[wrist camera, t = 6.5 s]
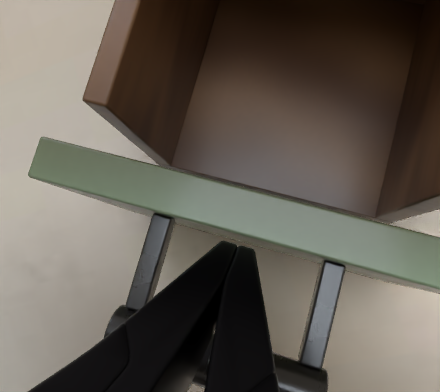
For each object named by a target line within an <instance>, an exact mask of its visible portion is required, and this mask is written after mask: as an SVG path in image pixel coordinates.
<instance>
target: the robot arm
mask: <svg viewBox="0 0 440 392" xmlns="http://www.w3.org/2000/svg"><path fill="white" fill-rule="evenodd" d="M214 331H215V334H214V339H213V345H212V351H211V356H210V362H209V368H208V373H207V379H206V385H205V390H204V392H280V390H279V384H278V379H277V374H276V373H275V372H276V368H275V363H274V357H273V351H272V346H271V340H270V334H269V329H268V323H267V317H266V311H265V306H264V300H263V294H262V289H261V283H260V277H259V272H258V266H257V260H256V254H255V251H254V249H252V248H248V247H245V246H238V247H237V245H236V244H234V243H230V242H227V241H221V242H219V243H218V244H217V245H216V246H215V247H213V248H212V249H211V250H210V251H209V252H207V253H206V254H205V255H204V256H203V257H201V258H200V259H199V260H198V261H197V262H195V263H194V264H193V265H192V266H191V267H189V268H188V269H187V270H186V271H185V272H183V273H182V274H181V275H180V276H179V277H177V278H176V279H175V280H174V281H173V282H171V283H170V284H169V285H168V286H167V287H165V288H164V289H163V290H162V291H161V292H159V293H158V294H157V295H156V296H155V297H153V298H152V299H151V300H150V301H149V302H147V303H146V304H145V305H144V306H143V307H142V308H140V309H139V310H138V311H137V312H136V313H134V314H133V315H132V316H131V317H130V318H128V319H127V320H126V321H125V324H124V323H122V324H121V325H120V326H119V327H117V328H116V329H115V330H114V331H113V332H111V333H110V334H109V335H108V336H106V337H105V338H104V339H103V340H101V341H100V342H99V343H98V344H96V345H95V346H94V347H92V348H91V349H90V350H88V351H87V352H86V353H84V354H83V355H81V356H80V357H78V358H77V359H76V360H74V361H73V362H71V363H70V364H68V365H67V366H65V367H64V368H62V369H61V370H59V371H58V372H56V373H55V374H53V375H52V376H50V377H49V378H47V379H46V380H44V381H43V382H41V383H40V384H38V385H37V386H35V387H34V388H33V389H31V390H30V391H28V392H188V389H189V387H190V385H191V383H192V380H193V378H194V376H195V374H196V372H197V369H198V367H199V365H200V363H201V360H202V358H203V356H204V354H205V352H206V349H207V347H208V345H209V343H210V340H211V338H212V336H213V333H214Z"/></svg>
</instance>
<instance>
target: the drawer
mask: <svg viewBox="0 0 440 392" xmlns="http://www.w3.org/2000/svg"><path fill="white" fill-rule="evenodd" d="M83 101H84V102H85V103H86V104H88V105H89V106H90V107H91V108H92V109H93V110H95V111H96V112H97V113H98V114H99V115H101V116H102V117H103V118H104V119H105V120H107V121H108V122H109V123H110V124H111V125H113V126H114V127H115V128H116V129H117V130H118V131H120V132H121V133H122V134H123V135H124V136H126V137H127V138H128V139H129V140H130V141H132V142H133V143H134V144H135V145H136V146H138V147H139V148H140V149H141V150H142V151H143V152H145V153H146V154H147V155H148V156H149V157H151V158H152V159H153V160H154V161H155V162H156V163H157V164H158V165H160V166H162V167H160V166H157V165H153V164H149V163H145V162H141V161H137V160H133V159H129V158H125V157H121V156H117V155H113V154H109V153H105V152H102V151H98V150H94V149H90V148H86V147H82V146H78V145H74V144H70V143H66V142H62V141H58V140H54V139H51V138H47V137H41V138H40V141H39V144H38V147H37V150H36V153H35V156H34V158H33V161H32V164H31V167H30V170H29V173H28V176H29V177H30V178H33V179H36V180H39V181H42V182H45V183H48V184H51V185H54V186H57V187H60V188H63V189H66V190H69V191H72V192H75V193H78V194H82V195H85V196H88V197H91V198H94V199H97V200H100V201H103V202H106V203H109V204H112V205H115V206H118V207H121V208H124V209H127V210H130V211H133V212H136V213H140V214H143V215H147V216H150V217H152V219H151V222H150V225H149V229H148V232H147V235H146V239H145V242H144V245H143V249H142V252H141V255H140V259H139V262H138V265H137V269H136V272H135V275H134V279H133V282H132V285H131V289H130V292H129V295H128V299H127V302H126V305H121V306H120V307H119V308H118V309H117V310H116V311H115V312H114V314H113V316H112V317H111V319H110V321H109V323H108V326H107V328H106V331H105V335H104V338H105V337H106V336H108V335H109V334H110V333H111V332H113V331H114V330H115V329H116V328H117V327H119V326H120V325H121V324H122V323H124V324H125V321H126V320H127V319H128V318H130V317H131V316H132V315H133V314H134V313H136V312H137V311H138V310H139V309H140V308H142V307H143V306H144V305H145V304H146V303H147V302H149V301H150V300H151V299H152V298H153V297H154V293H155V290H156V287H157V283H158V280H159V276H160V273H161V269H162V266H163V263H164V259H165V256H166V252H167V249H168V245H169V242H170V239H171V235H172V232H173V228H174V225H175V223H176V224H179V225H183V226H186V227H190V228H194V229H197V230H201V231H204V232H208V233H212V234H215V235H219V236H222V237H226V238H230V239H233V240H237V241H240V242H244V243H248V244H251V245H255V246H259V247H262V248H266V249H269V250H273V251H277V252H280V253H284V254H287V255H291V256H295V257H298V258H302V259H305V260H309V261H313V262H316V263H320V264H321V265H320V269H319V273H318V277H317V281H316V285H315V289H314V293H313V297H312V302H311V306H310V310H309V314H308V318H307V322H306V326H305V330H304V334H303V338H302V342H301V347H300V351H299V355H298V358H299V360H296V359H293V358H289V357H286V356H283V355H280V354H277V353H274V352H273V357H274V363H275V368H276V372H275V373H276V374H277V379H278V384H279V390H280V392H328V373H327V370H326V369H324V368H322V366H323V362H324V357H325V353H326V349H327V345H328V341H329V336H330V332H331V328H332V324H333V319H334V315H335V311H336V307H337V303H338V298H339V294H340V290H341V286H342V281H343V277H344V273H345V271H349V272H352V273H356V274H359V275H363V276H367V277H370V278H374V279H377V280H381V281H385V282H388V283H393V284H397V285H402V286H407V287H411V288H416V289H421V290H425V291H430V292H434V293H439V294H440V238H439V237H435V236H432V235H428V234H424V233H420V232H416V231H412V230H408V229H404V228H400V227H396V226H392V225H388V224H389V223H393V222H395V221H398V220H402V219H405V218H409V217H413V216H416V215H420V214H423V213H427V212H431V211H434V210H438V209H440V0H115V2H114V5H113V8H112V11H111V14H110V17H109V20H108V23H107V26H106V29H105V32H104V35H103V38H102V41H101V44H100V47H99V50H98V53H97V56H96V59H95V62H94V65H93V68H92V71H91V74H90V77H89V80H88V83H87V86H86V89H85V92H84V95H83ZM164 167H166V168H164ZM168 168H169V169H168ZM172 169H173V170H172ZM176 170H177V171H176ZM180 171H181V172H180ZM184 172H185V173H184ZM188 173H189V174H188ZM192 174H193V175H192ZM196 175H197V176H196ZM200 176H201V177H200ZM204 177H205V178H204ZM208 178H209V179H208ZM212 179H213V180H212ZM215 180H217V181H215ZM219 181H221V182H219ZM223 182H224V183H223ZM227 183H228V184H227ZM231 184H232V185H231ZM235 185H236V186H235ZM239 186H240V187H239ZM243 187H244V188H243ZM247 188H248V189H247ZM251 189H252V190H251ZM255 190H256V191H255ZM259 191H260V192H259ZM263 192H264V193H263ZM267 193H268V194H267ZM270 194H272V195H270ZM274 195H276V196H274ZM278 196H279V197H278ZM282 197H283V198H282ZM286 198H287V199H286ZM290 199H291V200H290ZM294 200H295V201H294ZM298 201H299V202H298ZM302 202H303V203H302ZM306 203H307V204H306ZM310 204H311V205H310ZM314 205H315V206H314ZM318 206H319V207H318ZM322 207H323V208H322ZM325 208H327V209H325ZM329 209H331V210H329ZM333 210H335V211H333ZM337 211H338V212H337ZM341 212H342V213H341ZM345 213H346V214H345ZM349 214H350V215H349ZM353 215H354V216H353ZM357 216H358V217H357ZM361 217H362V218H361ZM365 218H366V219H365ZM369 219H370V220H369ZM373 220H374V221H373ZM377 221H378V222H377ZM380 222H382V223H380ZM384 223H386V224H384ZM213 339H214V333H213V336H212V338H211V340H210V343H209V345H208V347H207V349H206V352H205V354H204V356H203V358H202V360H201V363H200V365H199V367H198V369H197V372H196V374H195V376H194V378H193V380H192V384H195V385H198V386H201V387H203V388H205V385H206V379H207V373H208V368H209V362H210V356H211V351H212V345H213Z"/></svg>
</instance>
